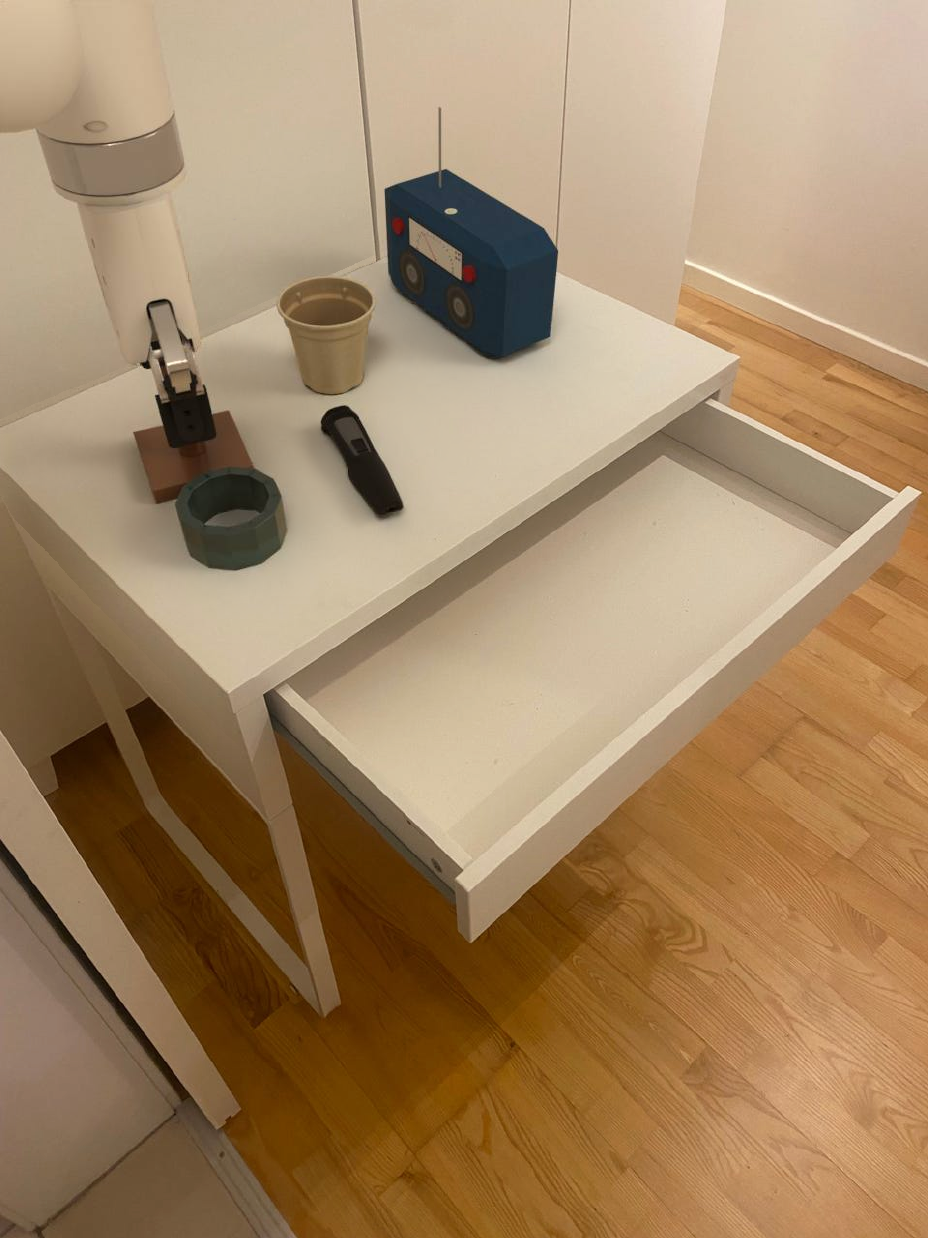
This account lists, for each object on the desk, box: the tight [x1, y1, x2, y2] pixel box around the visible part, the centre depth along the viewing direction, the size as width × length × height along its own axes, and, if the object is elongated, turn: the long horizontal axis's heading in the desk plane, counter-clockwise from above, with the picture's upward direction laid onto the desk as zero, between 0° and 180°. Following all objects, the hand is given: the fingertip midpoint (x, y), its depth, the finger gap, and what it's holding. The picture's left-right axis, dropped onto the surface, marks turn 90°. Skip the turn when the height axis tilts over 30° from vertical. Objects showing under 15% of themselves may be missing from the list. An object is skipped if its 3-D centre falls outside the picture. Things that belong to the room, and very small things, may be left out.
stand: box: [132, 366, 255, 504], centre depth 84 cm, size 9×9×12 cm
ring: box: [174, 466, 288, 571], centre depth 80 cm, size 8×8×4 cm
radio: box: [383, 106, 559, 359], centre depth 98 cm, size 21×9×20 cm, turn 37°
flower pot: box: [276, 275, 377, 395], centre depth 94 cm, size 9×9×9 cm
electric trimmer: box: [320, 404, 405, 517], centre depth 87 cm, size 4×16×3 cm, turn 23°
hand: (178, 400), depth 67 cm, fingers open, 9 cm apart
